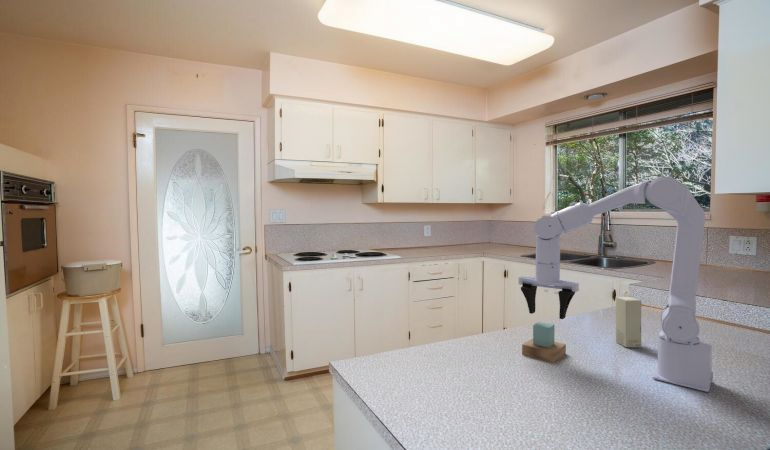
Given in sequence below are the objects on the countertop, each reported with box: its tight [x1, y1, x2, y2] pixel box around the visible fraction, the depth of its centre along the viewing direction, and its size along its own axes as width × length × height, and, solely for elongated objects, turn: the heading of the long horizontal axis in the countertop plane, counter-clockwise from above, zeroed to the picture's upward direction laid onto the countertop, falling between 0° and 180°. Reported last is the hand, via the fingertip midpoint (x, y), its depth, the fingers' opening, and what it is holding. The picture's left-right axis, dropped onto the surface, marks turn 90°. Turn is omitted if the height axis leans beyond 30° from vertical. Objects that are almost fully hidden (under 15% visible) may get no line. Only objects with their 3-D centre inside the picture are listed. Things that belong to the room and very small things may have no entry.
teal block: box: [532, 321, 555, 348], centre depth 99 cm, size 4×4×5 cm
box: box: [615, 296, 642, 348], centre depth 106 cm, size 5×4×13 cm
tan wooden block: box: [521, 338, 567, 364], centre depth 99 cm, size 8×8×3 cm
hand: (546, 315), depth 99 cm, fingers open, 7 cm apart
